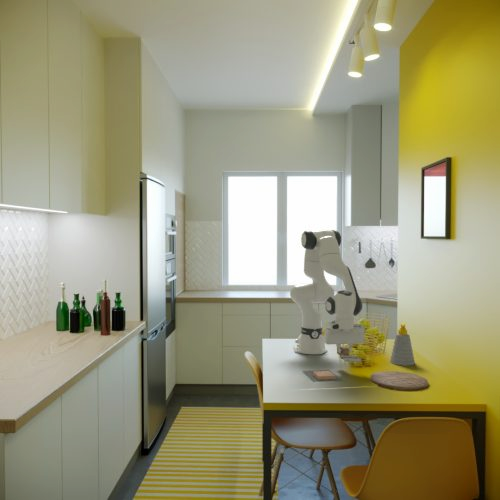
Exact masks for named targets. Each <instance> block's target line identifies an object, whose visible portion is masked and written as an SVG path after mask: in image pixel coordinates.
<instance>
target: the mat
mask: <svg viewBox="0 0 500 500" xmlns="http://www.w3.org/2000/svg"><path fill="white" fill-rule="evenodd" d="M316 371H330V372H331V373H332V374H334V375H335V379H332V380H318V379H317V378H316V377H314V376H313V372H316ZM301 372H302V373H303V374H304V375H305V376H306V377H307V378H308V379H309V380H310V381H312V383H317V382H318V383H319V382H321V383H322V382H339V381H340V382H342V381H344V380H343V379H342V378H340V377H339V376H338V375H337V374H335V373H334V372H332V371H331V370H330V369H323V370H321V369H317V370H301Z"/></svg>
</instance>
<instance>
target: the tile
mask: <svg viewBox="0 0 500 500" xmlns="http://www.w3.org/2000/svg"><path fill="white" fill-rule="evenodd" d="M315 371H316V370H315ZM330 371H331V370H330ZM330 371H316V372H313V376H314V377H316V378H317V379H318V380H332V379H335V375H336V374H335V373H334V374H335V375H334V374H332V373H331V372H332V371H331V372H330Z"/></svg>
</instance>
